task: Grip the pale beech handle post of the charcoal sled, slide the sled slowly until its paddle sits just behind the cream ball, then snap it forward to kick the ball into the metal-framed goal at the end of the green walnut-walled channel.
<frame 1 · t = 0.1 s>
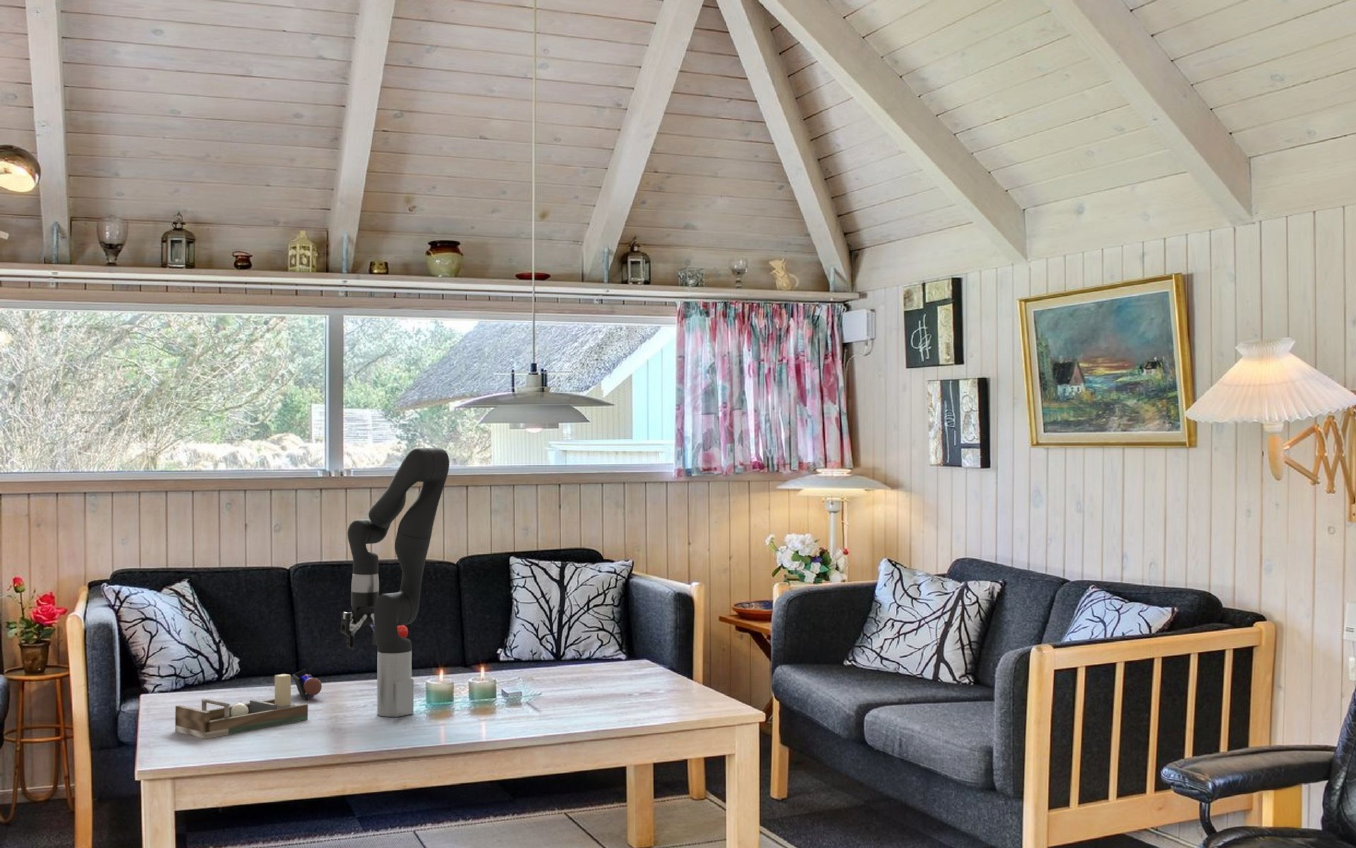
hand: (363, 647, 350), 17 cm above the table, tool pointing down, fingers open, 8 cm apart
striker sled: (275, 694, 335), point 7 cm above the table, slide at 0.0 cm
ball: (239, 711, 326), point 4 cm above the table, touching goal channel
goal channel: (242, 725, 327), on the table
stacking toy: (400, 685, 386), on the table
character figurine: (306, 697, 367), on the table
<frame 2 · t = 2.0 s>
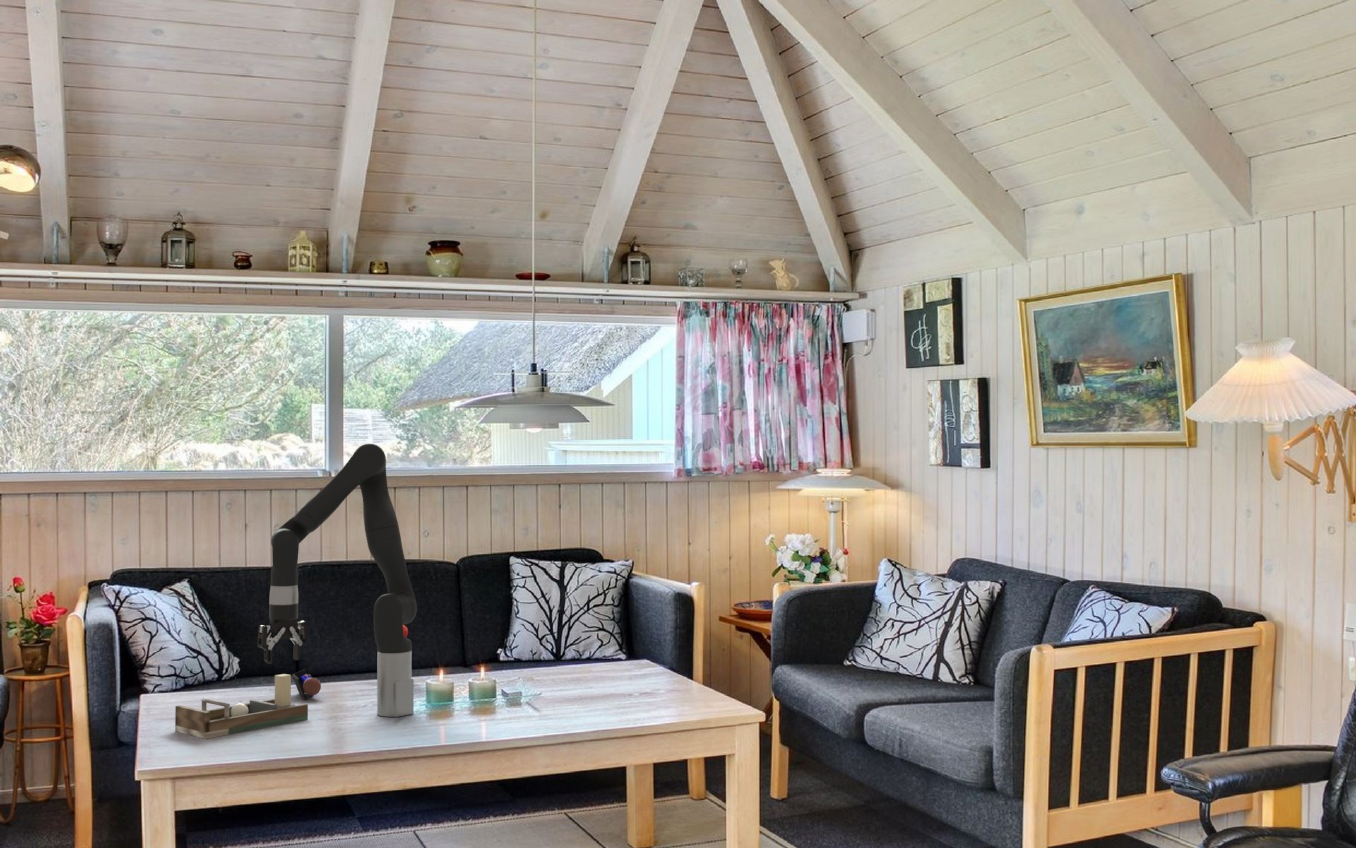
hand: (282, 661, 337), 15 cm above the table, tool pointing down, fingers open, 8 cm apart
nothing on the table moved.
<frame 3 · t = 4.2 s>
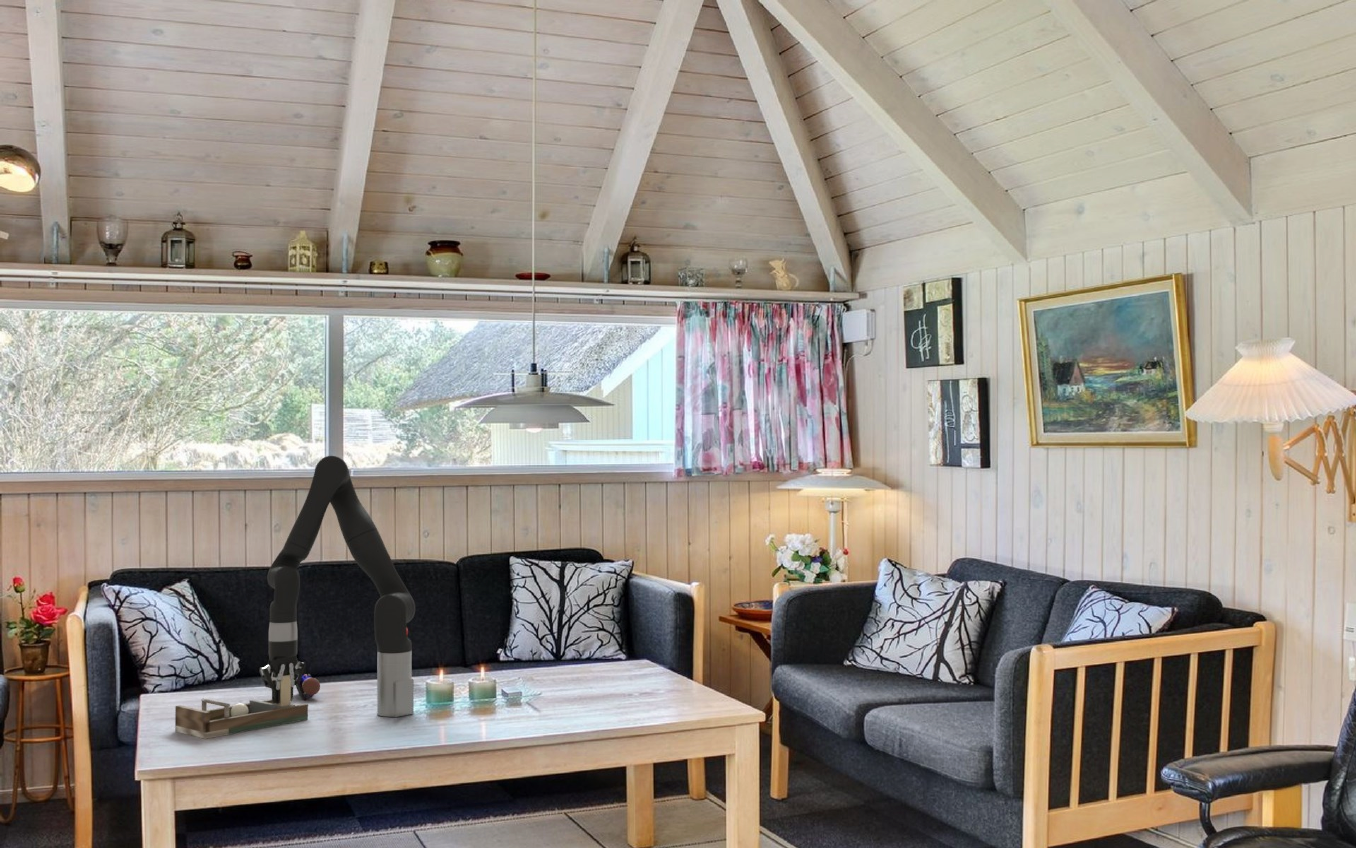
hand: (282, 701, 337), 4 cm above the table, tool pointing down, fingers closed on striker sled, 3 cm apart
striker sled: (275, 694, 335), point 7 cm above the table, slide at 0.0 cm, touching gripper
everything else where it was.
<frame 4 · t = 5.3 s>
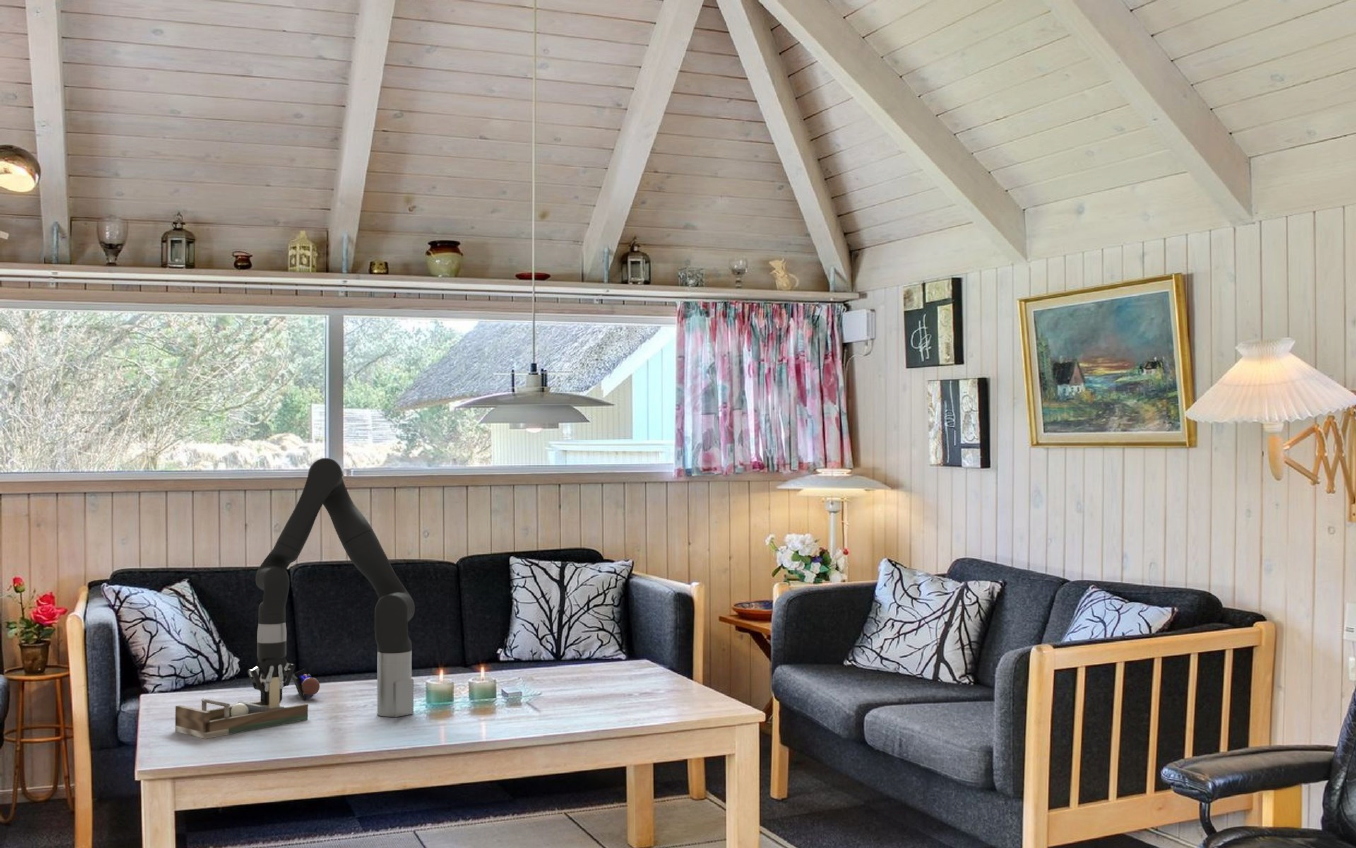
hand: (271, 703, 334), 4 cm above the table, tool pointing down, fingers closed on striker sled, 3 cm apart
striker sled: (263, 696, 332), point 7 cm above the table, slide at 3.5 cm, touching gripper
everything else where it was.
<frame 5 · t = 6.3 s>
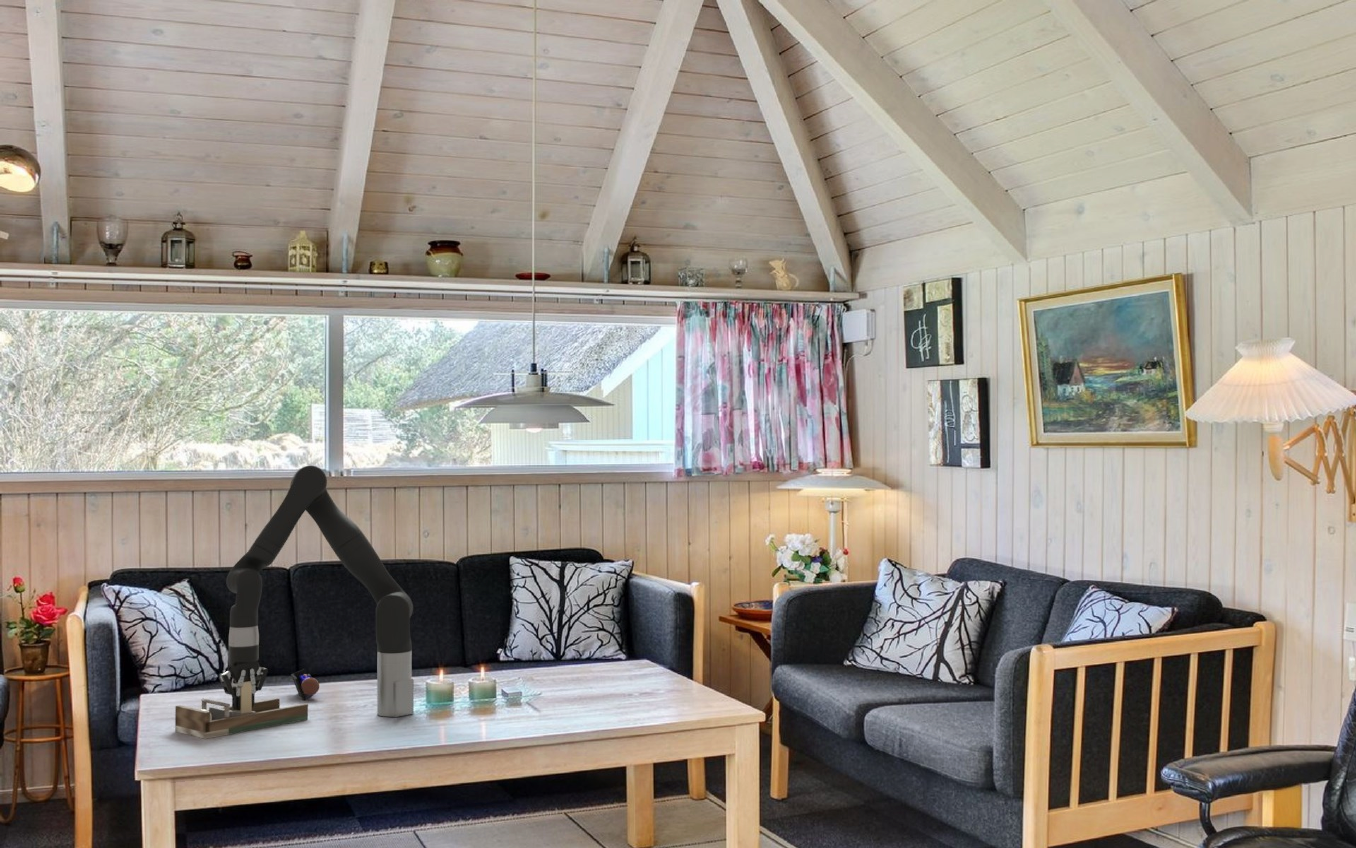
hand: (243, 708, 327), 4 cm above the table, tool pointing down, fingers closed on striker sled, 3 cm apart
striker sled: (235, 701, 326), point 7 cm above the table, slide at 11.9 cm, touching gripper
ball: (202, 718, 318), point 4 cm above the table, tilted 90°, touching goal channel
everything else where it was.
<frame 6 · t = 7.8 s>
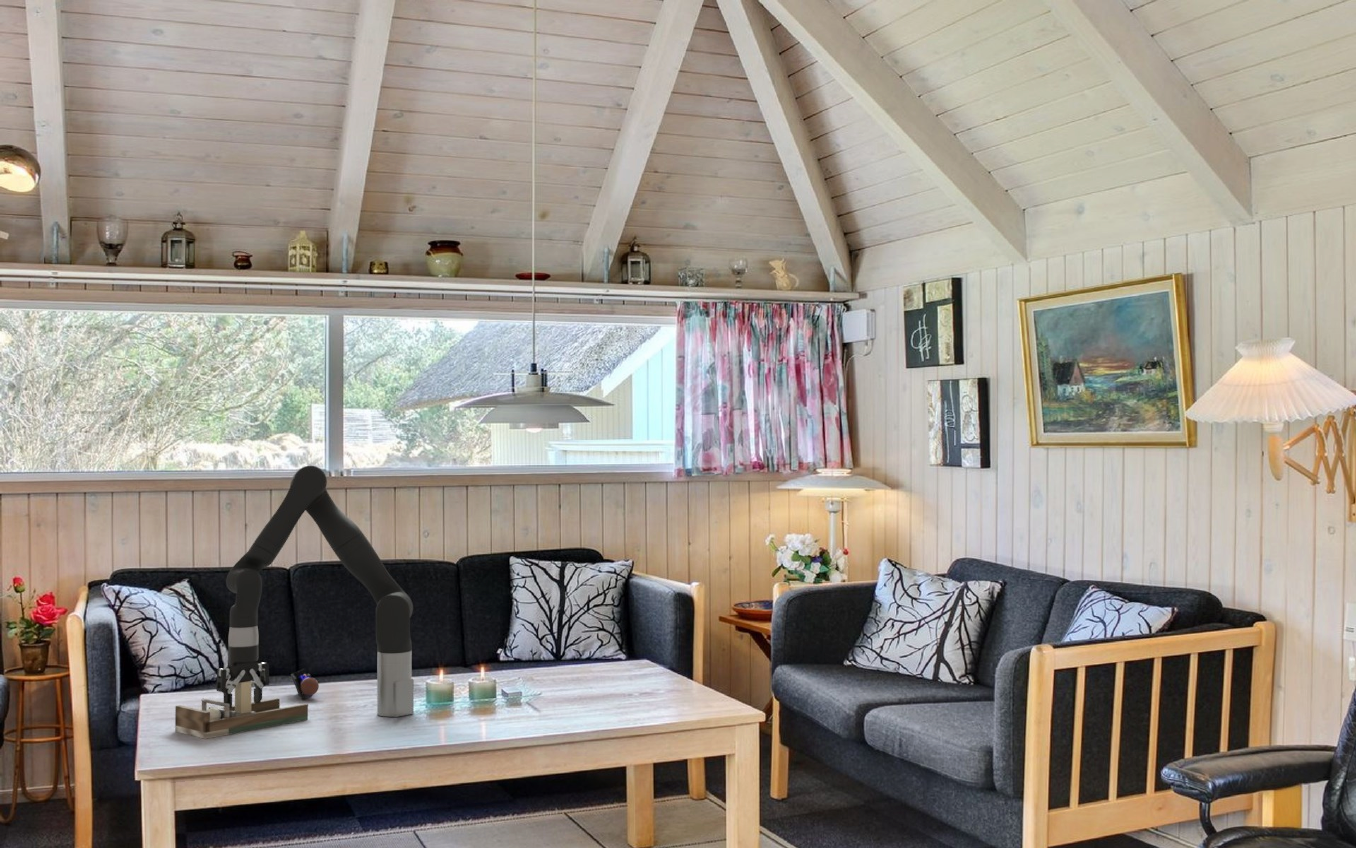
hand: (243, 705, 327), 5 cm above the table, tool pointing down, fingers open, 8 cm apart
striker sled: (235, 701, 326), point 7 cm above the table, slide at 12.0 cm
ball: (212, 716, 320), point 4 cm above the table, tilted 160°, touching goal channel
everything else where it was.
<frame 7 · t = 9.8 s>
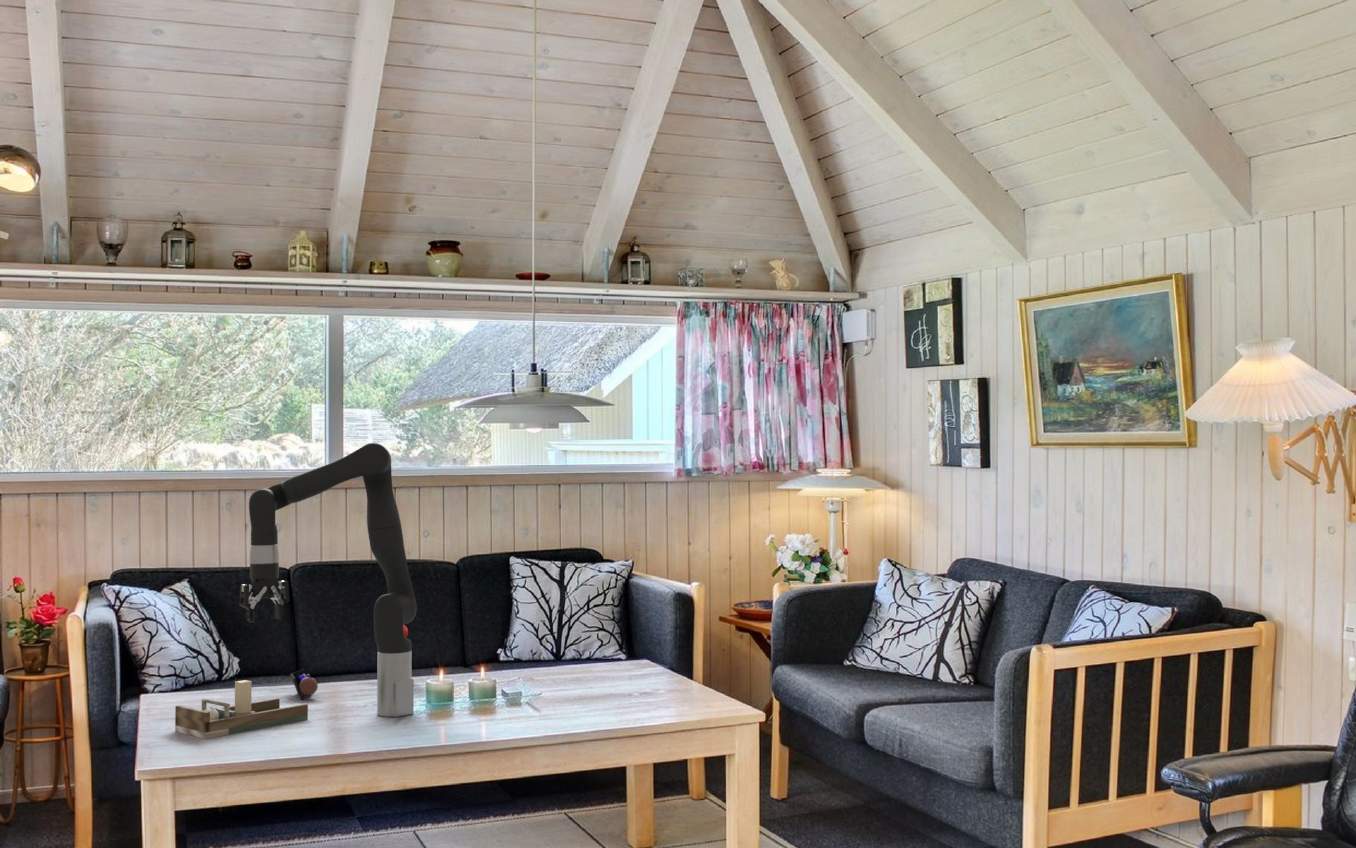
hand: (264, 620, 339), 26 cm above the table, tool pointing down, fingers open, 8 cm apart
ball: (210, 717, 320), point 4 cm above the table, tilted 144°, touching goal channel
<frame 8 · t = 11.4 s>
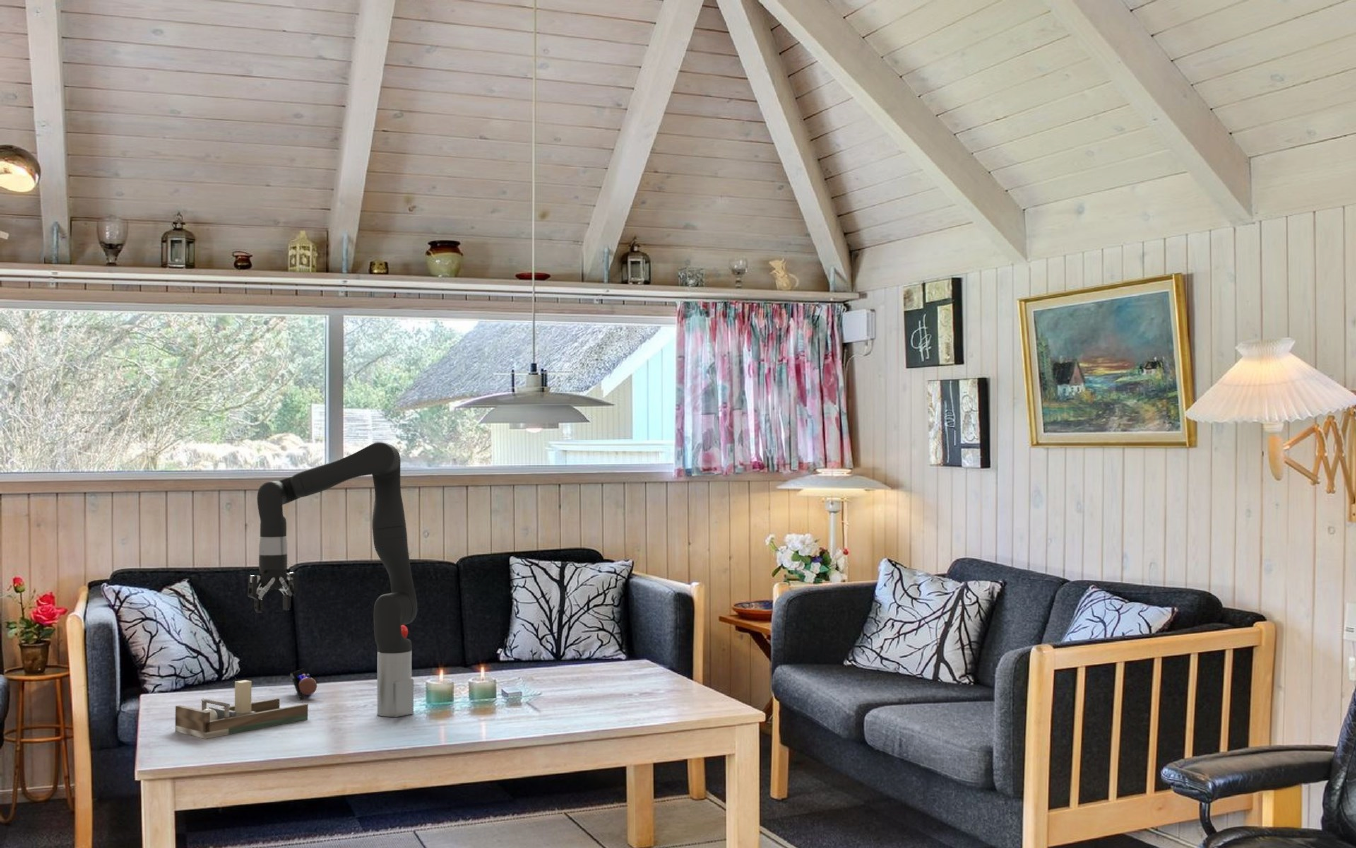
hand: (272, 611, 344), 28 cm above the table, tool pointing down, fingers open, 8 cm apart
ball: (208, 717, 319), point 4 cm above the table, tilted 132°, touching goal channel
at the end: ball inside the target area on the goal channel (1.2 cm from its centre), point 3.7 cm above the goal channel's base; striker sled slide at 12.0 cm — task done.
